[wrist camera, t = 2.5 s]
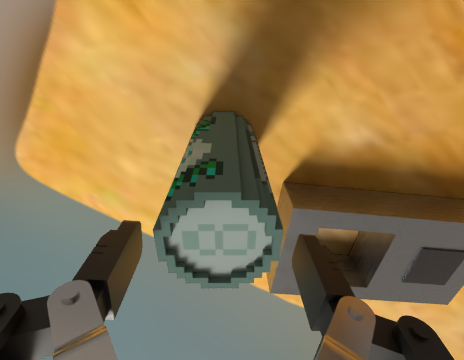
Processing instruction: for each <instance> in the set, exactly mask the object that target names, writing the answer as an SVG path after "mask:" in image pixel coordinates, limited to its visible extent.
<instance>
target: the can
mask: <svg viewBox="0 0 464 360" xmlns="http://www.w3.org/2000/svg"><path fill="white" fill-rule="evenodd" d="M153 233H154V238H155V244H156V249H157V254H158V260H159V261H167V265H168V271H169V273H177V278H185V282H186V283H201V288H238V286H239V283H254V278H262V272H270V268H271V261H279V259H280V252H281V244H282V237H283V226H282V223H281V220H280V216H279V213H278V210H277V206H276V203H275V200H274V196H273V193H272V190H271V186H270V183H269V180H268V176H267V173H266V170H265V166H264V163H263V160H262V156H261V153H260V149H259V146H258V143H257V139H256V136H255V133H254V132H253V131H252V127H251V124H247V120H243V116H235V114H234V111H213V114H212V116H205V117H204V120H201V121H200V123H199V124H197V125H196V127H195V130H194V132H193V134H192V136H191V139H190V141H189V144H188V146H187V149H186V151H185V153H184V156H183V158H182V161H181V163H180V165H179V168H178V170H177V173H176V175H175V178H174V180H173V182H172V185H171V187H170V190H169V192H168V195H167V197H166V199H165V202H164V204H163V207H162V209H161V212H160V214H159V216H158V219H157V221H156V224H155V226H154V228H153Z"/></svg>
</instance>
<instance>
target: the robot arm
mask: <svg viewBox="0 0 464 360" xmlns="http://www.w3.org/2000/svg"><path fill="white" fill-rule="evenodd" d="M141 253H142V233H141V223H140V221H128V220H124V221H123V222H122V223H121V225H120V227H119V228H118V230H110V231H109V232H107V233H106V234H105V235H103V236H102V237H101V238H100V240H99V241H98V243H97V244H96V247H94V249H93V251H92V252H91V254H90V255H89V256H88V258H87V259H86V261H85V262H84V264H83V265H82V267H81V268H80V269H79V271H78V272H77V274H76V275H75V277H74V279H73V280H72V281H70V282H67V283H65V284H63V285H61V286H59V287H58V288H56V289H55V290H54V291H53V292H52V293H51V295H49V296H45V297H41V298H36V299H31V300H26V301H21V299H20V297H19V296H18V295H17V294H14V293H3V294H0V360H39V359H42V358H46V357H50V356H53V360H117V357H116V354H115V351H114V348H113V345H112V343H111V339H110V336H109V333H108V331H107V328H106V327H105V326H104V321H105V320H114V319H115V317H116V315H117V312H118V309H119V307H120V305H121V302H122V300H123V298H124V295H125V293H126V290H127V288H128V286H129V284H130V281H131V279H132V276H133V274H134V271H135V269H136V267H137V264H138V262H139V260H140V257H141ZM292 268H293V272H294V275H295V278H296V282H297V285H298V288H299V292H300V295H301V298H302V301H303V305H304V308H305V311H306V315H307V318H308V321H309V325H310V328H311V330H312V331H320V332H321V334H322V339H321V341H320V344H319V346H318V349H317V351H316V354H315V356H314V359H313V360H454V358H453V357H452V356H451V354H450V353H449V351H448V350H447V348H446V347H445V345H444V344H443V342H442V341H441V340H440V338H439V337H438V335H437V334H436V333H435V331H434V330H433V329H432V328H431V327H430V326H429V325H427V324H426V323H425V322H423V321H421V320H420V319H418V318H415V317H412V316H402V317H400V318H399V320H398V321H397V322H395V321H392V320H389V319H386V318H383V317H380V316H378V315H375V314H374V312H373V311H372V309H371V308H370V307H369V306H368V305H367V304H366V303H365V302H363V301H362V300H360V299H358V298H356V297H355V295H354V293H353V291H352V289H351V287H350V286H349V284H348V282H347V280H346V278H345V276H344V274H343V272H342V271H341V268H340V266H339V265H338V264H337V261H336V259H335V257H334V255H333V253H332V252H331V251H330V250H329V249H328V248H327V247H326V246H320V244H319V242H318V239H317V237H316V236H315V235H307V234H300V235H299V236H298V239H297V242H296V246H295V249H294V252H293V256H292Z"/></svg>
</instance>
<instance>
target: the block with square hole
mask: <svg viewBox="0 0 464 360" xmlns="http://www.w3.org/2000/svg"><path fill="white" fill-rule="evenodd" d="M277 210H278V213H279V216H280V220H281V223H282V226H283V237H282V244H281V252H280V259H279V261H271V268H270V272H266V273H267V279H268V285H269V291H270V293H276V294H292V295H300V292H299V288H298V285H297V282H296V278H295V275H294V272H293V268H292V256H293V252H294V249H295V246H296V242H297V239H298V236H299V235H300V234H307V235H315V236H316V234H317V231H318V228H330V229H342V230H354V231H359V234H358V236H357V238H356V240H355V242H354V245H353V247H352V249H351V251H350V253H349V256H348V255H335V254H333V255H334V257H335V259H336V261H337V264H338V265H339V266H340V268H341V271H342V272H343V274H344V276H345V278H346V280H347V282H348V284H349V286H350V287H351V289H352V291H353V293H354V295H355V297H356V298H358V299H368V300H384V301H399V302H414V303H430V304H445V305H448V304H449V302H450V301H451V300H452V299H453V297H454V296H455V295H456V294H457V293H458V291H459V290H460V289H461V288H462V286H463V285H464V199H455V198H444V197H433V196H423V195H412V194H402V193H391V192H381V191H370V190H359V189H349V188H338V187H328V186H317V185H306V184H296V183H285V182H283V185H282V189H281V193H280V198H279V202H278V206H277Z"/></svg>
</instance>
